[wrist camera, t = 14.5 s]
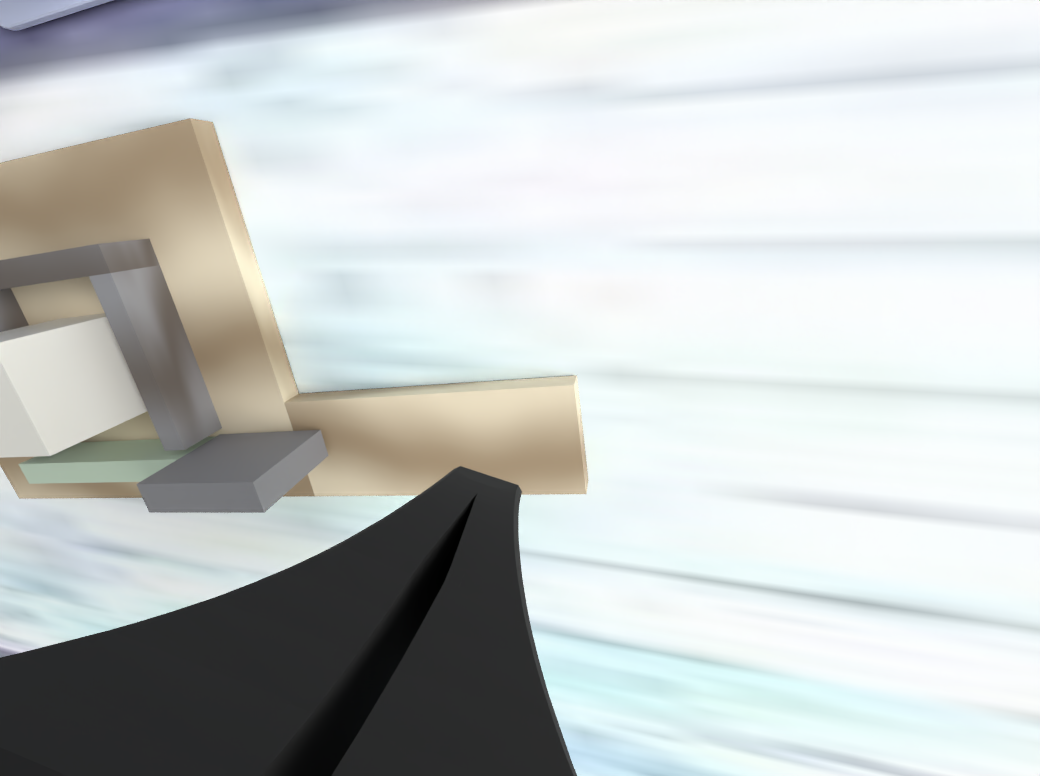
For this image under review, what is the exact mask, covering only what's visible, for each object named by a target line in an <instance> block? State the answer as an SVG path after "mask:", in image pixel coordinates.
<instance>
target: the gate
mask: <svg viewBox="0 0 1040 776" xmlns="http://www.w3.org/2000/svg"><path fill="white" fill-rule="evenodd" d="M328 456H329V455H328V452H327V449H326V446H325V443H324V439H323V436H322V433H321V430H304V431H281V432H259V433H237V434H219V435H218V436H216V437H206V438H204V439H203V440H201V441H199V442H198V443H196V444H194V445H193V446H191V447H189V448H187V449H186V450H172V451H165V450H164V448H163V445H162V443H161V441H160V439H148V440H125V441H102V442H80V443H77V444H75V445H73V446H71V447H69V448H67V449H64V450H62V451H60V452H58V453H56V454H54V455H51V456H37V457H33V458H31V459H29V460H27V461H24V462H22V463H20V464H19V466H20V468H21V470H22V472H23V473H24V475H25V477H26V479H27V481H28V482H29V484H46V483H102V482H139V483H138V484H136V485H137V487H138V489H139V491H140V493H141V495H142V497H143V500H144V502H145V504H146V506H147V508H148V510H149V512H265V511H266V510H268V509H269V508H270V507H271V506H272V505H273V504H274V503H276V502H277V501H278V500H279V499H280V498H281V497H282V496H283V495H285V494H286V493H287V492H288V491H289V490H290V489H291V488H292V487H294V486H295V485H296V484H297V483H298V482H299V481H300V480H302V479H303V478H304V477H305V476H306V475H307V474H308V473H309V472H311V471H312V470H313V469H314V468H315V467H316V466H317V465H319V464H320V463H321V462H322V461H323V460H324V459H325V458H326V457H328Z"/></svg>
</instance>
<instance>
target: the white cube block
mask: <svg viewBox="0 0 1040 776" xmlns="http://www.w3.org/2000/svg"><path fill="white" fill-rule="evenodd" d="M145 412H147V409H146V406H145V404H144V402H143V400H142V397H141V395H140V393H139V390H138V388H137V386H136V383H135V381H134V379H133V377H132V374H131V372H130V370H129V367H128V365H127V363H126V361H125V358H124V356H123V354H122V351H121V349H120V347H119V345H118V342H117V340H116V338H115V335H114V333H113V331H112V328H111V326H110V324H109V322H108V319H107V317H106V315H105V313H101V314H93V315H84V316H76V317H67V318H60V319H56V320H52V321H47V322H43V323H38V324H34V325H30V326H25V327H21V328H16V329H12V330H8V331H3V332H0V458H4V457H37V456H51V455H54V454H56V453H58V452H60V451H62V450H64V449H67V448H69V447H71V446H73V445H75V444H77V443H80V442H82V441H84V440H86V439H88V438H91V437H93V436H95V435H97V434H99V433H101V432H104V431H106V430H108V429H110V428H112V427H114V426H117V425H119V424H121V423H123V422H125V421H127V420H130V419H132V418H134V417H136V416H138V415H140V414H143V413H145Z"/></svg>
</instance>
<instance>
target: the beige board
mask: <svg viewBox="0 0 1040 776" xmlns="http://www.w3.org/2000/svg"><path fill="white" fill-rule="evenodd" d="M101 313H105V315H106V317H107V319H108V322H109V324H110V326H111V328H112V331H113V333H114V335H115V338H116V340H117V342H118V345H119V347H120V349H121V351H122V354H123V356H124V358H125V361H126V363H127V365H128V367H129V370H130V372H131V374H132V377H133V379H134V381H135V383H136V386H137V388H138V390H139V393H140V395H141V397H142V400H143V402H144V404H145V406H146V409H147V412H145V413H143V414H140V415H138V416H136V417H134V418H132V419H130V420H127V421H125V422H123V423H121V424H119V425H117V426H114V427H112V428H110V429H108V430H106V431H104V432H101V433H99V434H97V435H95V436H93V437H91V438H88V439H86V440H84V441H82V442H102V441H125V440H148V439H160V441H161V443H162V445H163V448H164V450H165V451H172V450H186V449H187V448H189V447H191V446H193V445H194V444H196V443H198V442H199V441H201V440H203V439H204V438H206V437H216V436H218V435H219V434H237V433H259V432H281V431H304V430H321V433H322V436H323V439H324V443H325V446H326V449H327V452H328V455H329V456H328V457H326V458H325V459H324V460H323V461H322V462H321V463H320V464H319V465H317V466H316V467H315V468H314V469H313V470H312V471H311V472H309V473H308V474H307V475H306V476H305V477H304V478H303V479H302V480H300V481H299V482H298V483H297V484H296V485H295V486H294V487H292V488H291V489H290V490H289V491H288V492H287V493H286V494H285V495H283V496H395V495H419V494H421V493H422V492H424V491H425V490H427V489H428V488H429V487H431V486H432V485H433V484H435V483H436V482H438V481H439V480H440V479H442V478H443V477H444V476H445V475H447V474H448V473H449V472H451V471H452V470H453V469H455V468H457V467H459V466H462V467H465V468H468V469H471V470H474V471H477V472H480V473H483V474H486V475H489V476H492V477H495V478H498V479H502V480H505V481H508V482H511V483H514V484H517V485H519V487H520V489H521V491H522V494H586V492H587V485H588V474H587V464H586V455H585V446H584V437H583V428H582V419H581V409H580V400H579V391H578V382H577V375H576V376H560V377H545V378H530V379H515V380H499V381H484V382H469V383H454V384H438V385H423V386H408V387H393V388H377V389H362V390H347V391H332V392H316V393H301V394H299V393H298V390H297V386H296V383H295V380H294V377H293V374H292V371H291V368H290V364H289V361H288V358H287V355H286V352H285V349H284V345H283V342H282V339H281V336H280V333H279V330H278V327H277V323H276V320H275V317H274V314H273V311H272V308H271V305H270V301H269V298H268V295H267V292H266V289H265V286H264V283H263V279H262V276H261V273H260V270H259V267H258V264H257V260H256V257H255V254H254V251H253V248H252V245H251V242H250V238H249V235H248V232H247V229H246V226H245V223H244V220H243V216H242V213H241V210H240V207H239V204H238V201H237V197H236V194H235V191H234V188H233V185H232V182H231V179H230V175H229V172H228V169H227V166H226V163H225V160H224V157H223V153H222V150H221V147H220V144H219V141H218V138H217V135H216V131H215V128H214V125H213V122H209V121H203V120H196V119H186V120H181V121H177V122H173V123H169V124H164V125H160V126H156V127H151V128H147V129H143V130H139V131H134V132H130V133H126V134H122V135H117V136H113V137H109V138H104V139H100V140H96V141H92V142H87V143H83V144H79V145H75V146H70V147H66V148H62V149H57V150H53V151H49V152H45V153H40V154H36V155H32V156H28V157H23V158H19V159H15V160H10V161H6V162H2V163H0V332H3V331H8V330H12V329H16V328H21V327H25V326H30V325H34V324H38V323H43V322H47V321H52V320H56V319H60V318H67V317H76V316H84V315H93V314H101ZM31 458H33V457H4V458H0V465H1V467H2V469H3V471H4V472H5V474H6V476H7V478H8V479H9V481H10V483H11V485H12V486H13V488H14V490H15V492H16V493H17V495H18V497H19V499H21V498H143V497H142V495H141V493H140V491H139V489H138V487H137V485H136V484H138V483H139V482H102V483H46V484H29V482H28V481H27V479H26V477H25V475H24V473H23V472H22V470H21V468H20V466H19V464H20V463H22V462H24V461H27V460H29V459H31Z"/></svg>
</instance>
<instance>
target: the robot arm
mask: <svg viewBox="0 0 1040 776" xmlns="http://www.w3.org/2000/svg"><path fill="white" fill-rule="evenodd" d="M110 1H113V0H0V26H1V27H3V28H5V29H9V30H13V31H19V30H22V29H25V28H28V27H32V26H35V25H38V24H41V23H44V22H47V21H50V20H53V19H57V18H60V17H63V16H66V15H69V14H72V13H75V12H79V11H82V10H85V9H88V8H91V7H94V6H97V5H100V4H104V3H107V2H110ZM521 494H522V491H521V489H520V487H519V485H517V484H514V483H511V482H508V481H505V480H502V479H498V478H495V477H492V476H489V475H486V474H483V473H480V472H477V471H474V470H471V469H468V468H465V467H462V466H459V467H457V468H455V469H453V470H452V471H451V472H449V473H448V474H447V475H445V476H444V477H443V478H442V479H440V480H439V481H438V482H436V483H435V484H433V485H432V486H431V487H429V488H428V489H427V490H425V491H424V492H422V493H421V494H419V495H418V496H417V497H415V498H414V499H412V500H411V501H409V502H408V503H406V504H405V505H403V506H402V507H400V508H398V509H397V510H395V511H394V512H392V513H391V514H389V515H388V516H386V517H385V518H383V519H381V520H380V521H378V522H376V523H374V524H373V525H371V526H369V527H367V528H366V529H364V530H362V531H361V532H359V533H357V534H355V535H354V536H352V537H350V538H348V539H347V540H345V541H343V542H341V543H339V544H337V545H335V546H333V547H331V548H330V549H328V550H326V551H324V552H322V553H320V554H318V555H315V556H313V557H311V558H309V559H307V560H305V561H303V562H301V563H298V564H296V565H294V566H292V567H290V568H288V569H285V570H283V571H280V572H278V573H276V574H273V575H271V576H268V577H266V578H264V579H261V580H259V581H256V582H254V583H251V584H249V585H246V586H244V587H241V588H239V589H236V590H234V591H231V592H228V593H226V594H223V595H220V596H218V597H215V598H212V599H209V600H206V601H203V602H200V603H197V604H194V605H191V606H188V607H185V608H182V609H179V610H176V611H173V612H170V613H166V614H163V615H160V616H157V617H153V618H150V619H147V620H144V621H140V622H137V623H134V624H130V625H127V626H123V627H120V628H116V629H113V630H109V631H105V632H101V633H97V634H93V635H89V636H85V637H82V638H78V639H74V640H70V641H66V642H62V643H58V644H54V645H50V646H46V647H42V648H38V649H35V650H31V651H27V652H23V653H19V654H14V655H10V656H6V657H1V658H0V776H577V774H576V772H575V769H574V767H573V764H572V761H571V759H570V756H569V753H568V750H567V747H566V744H565V741H564V738H563V735H562V732H561V729H560V727H559V724H558V721H557V718H556V715H555V712H554V709H553V706H552V703H551V700H550V697H549V694H548V691H547V687H546V684H545V680H544V677H543V673H542V670H541V666H540V663H539V659H538V655H537V651H536V647H535V643H534V639H533V635H532V630H531V625H530V621H529V616H528V611H527V605H526V599H525V593H524V587H523V580H522V572H521V563H520V552H519V538H518V513H519V503H520V497H521Z"/></svg>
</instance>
